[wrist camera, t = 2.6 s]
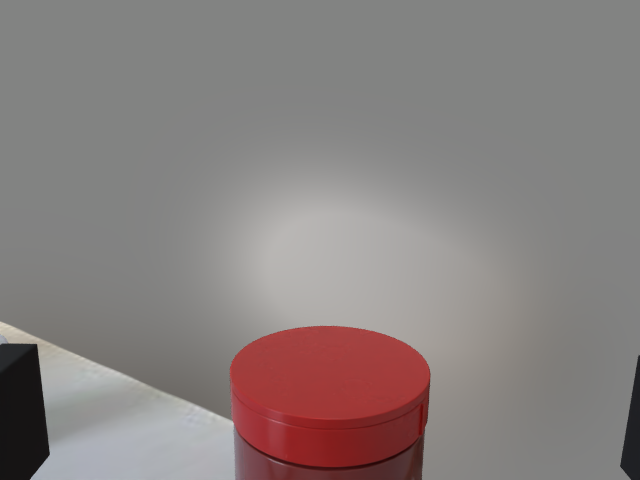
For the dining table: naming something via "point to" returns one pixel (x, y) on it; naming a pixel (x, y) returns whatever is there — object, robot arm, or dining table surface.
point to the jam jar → (283, 476)
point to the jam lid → (329, 395)
